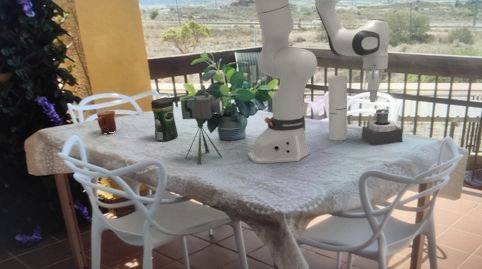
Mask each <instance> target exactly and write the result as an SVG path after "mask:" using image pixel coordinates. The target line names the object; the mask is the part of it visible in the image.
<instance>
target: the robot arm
mask: <svg viewBox="0 0 482 269" xmlns="http://www.w3.org/2000/svg"><path fill="white" fill-rule="evenodd" d="M340 1H341V0H314V2H315V3H314V5H315V9H316V11H317V14H318V17H319V19H320V21H321V24H322V26H323V28H324V30H325V33H326V36H327V38H328V39H327V41H328V46H329V49H330V51H331V53H332V54H334V55H335V56H338V57H346V56H347V57H363V59H362V60H363V62H362V63H363V66H362V69H364V70H365V73H366V74H368V75H367V92H369V101H370V103H375V102H376V98H377V97H378V92H379V88H380V85H381V82H382V76H383V74H384V73H385V70H386V69H388V65H389V53H388V48H389V46H390V26H389V23H388V21H386V20H384V19H376V18H372V19H368V20H367V21H366V23H364V24H363V25H362V26H360V27H358V28H356V29H355V28H354V29H347V28H345V27H344V26H343V25H342V23H341V21H340V18H339V15H338V13H337V11H336V5H337V4H338V3H339V2H340ZM254 6H255V7H254V8H255V10H256V14H257V18H258V22H259V27H260V30H261V31H260V32H261V39H262V40H261V42H262V45H261V51H260V53H259V54H258V57H257V67H258V69H259V71H260V72H261V73H262V74H265V75H266V76H268V77H270V78H276V79H279V86H278V89H277V91H276V92H274V93H273V95H272V98H271V103H272V106H271V107H272V117H270V118H269V117H268V116H267V117H265V118H264V122H265V124H267V128H266V129H264V130H263V132H262V133H260V134H259V135H258V136H256V138H255V140H254V144H253V149H250V150H248V153H247V155H248V159H249V160H250V161H251V162H253V163H255V164H268V163H269V164H272V163H286V162H288V163H289V162H299V161H301V160H302V159H303V158H305V157H307V156H308V155H309V153H310V152H309V148H308V146H307V145H308V144H307V141H306V140H307V139H306V135H305V130H306V118H305V115H304V94H305V90H306V86H307V84H308V81H309V80H310V79H311V78H312V77H313V76H314V75H315V73H316V72H317V68H318V59H317V57H316V55H315V53H313V52H312V51H311V50H308V49H305V48H302V47H290V43H289V37H290V35H291V33H292V31H293V29H294V27H295V23H294V20H293V16H292V11H291V7H290V3H289V0H254Z"/></svg>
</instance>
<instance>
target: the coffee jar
mask: <svg viewBox="0 0 482 269" xmlns="http://www.w3.org/2000/svg"><path fill="white" fill-rule="evenodd" d="M150 107H151V112H152V113H153V118H154V134H155V140H157V141H158V142H167V141H171V140H173V139H176V138H177V137H178V136H179V135H178V130H177V124H176V121H175V116H174V115H175V114H174V109H175V108H174V107H175V105H174V101H173V98H172V97H160V98H156V99H152V100H151V102H150Z"/></svg>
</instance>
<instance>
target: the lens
mask: <svg viewBox="0 0 482 269" xmlns="http://www.w3.org/2000/svg"><path fill="white" fill-rule="evenodd" d="M389 112H390V111H389V110H388V109H384V108H382V109H376V110H375V120H376V125H388V120H389Z"/></svg>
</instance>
